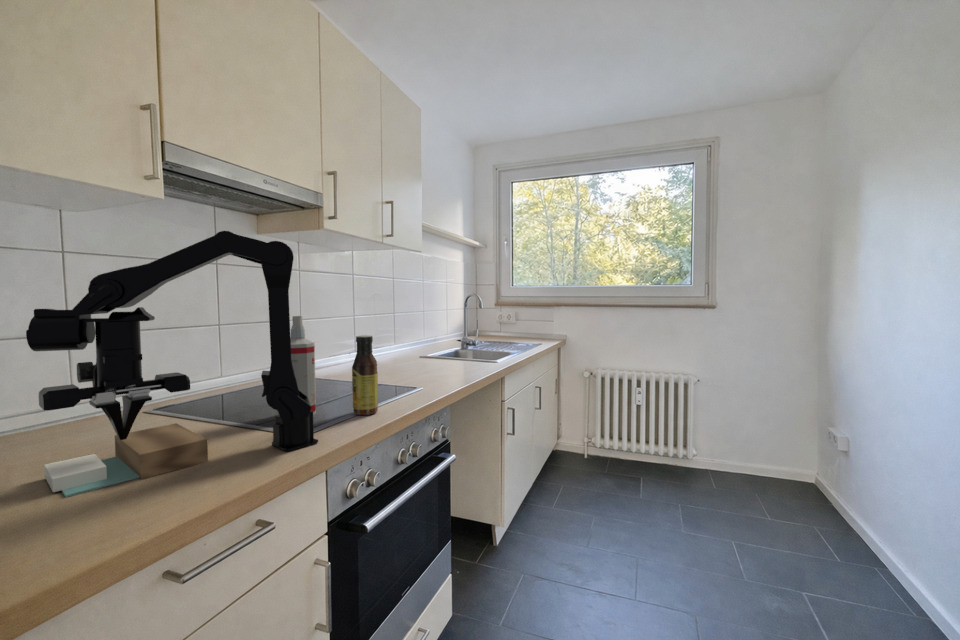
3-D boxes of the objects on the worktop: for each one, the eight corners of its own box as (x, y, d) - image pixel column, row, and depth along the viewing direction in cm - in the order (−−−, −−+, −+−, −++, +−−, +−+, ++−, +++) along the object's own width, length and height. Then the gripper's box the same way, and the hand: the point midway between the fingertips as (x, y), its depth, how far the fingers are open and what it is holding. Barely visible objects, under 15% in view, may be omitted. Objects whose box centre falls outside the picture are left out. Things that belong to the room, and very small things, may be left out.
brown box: (177, 442, 83) (176, 423, 83) (208, 461, 74) (207, 439, 74) (115, 456, 76) (114, 435, 76) (141, 479, 66) (140, 454, 66)
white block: (44, 464, 66) (44, 476, 67) (52, 479, 61) (53, 492, 61) (94, 453, 71) (95, 465, 71) (106, 466, 66) (106, 478, 66)
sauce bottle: (355, 410, 108) (354, 334, 108) (379, 409, 109) (378, 334, 108) (350, 417, 102) (349, 336, 101) (376, 416, 103) (375, 336, 102)
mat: (120, 457, 76) (120, 455, 76) (143, 476, 67) (143, 474, 67) (50, 473, 69) (50, 471, 69) (65, 497, 60) (65, 495, 60)
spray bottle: (277, 415, 103) (274, 316, 102) (305, 409, 109) (302, 315, 108) (293, 420, 99) (291, 316, 98) (321, 414, 105) (319, 315, 104)
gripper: (169, 341, 82) (172, 419, 83) (31, 350, 67) (36, 444, 68) (189, 344, 75) (192, 429, 76) (41, 355, 61) (46, 460, 61)
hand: (122, 439), depth 71 cm, fingers closed
